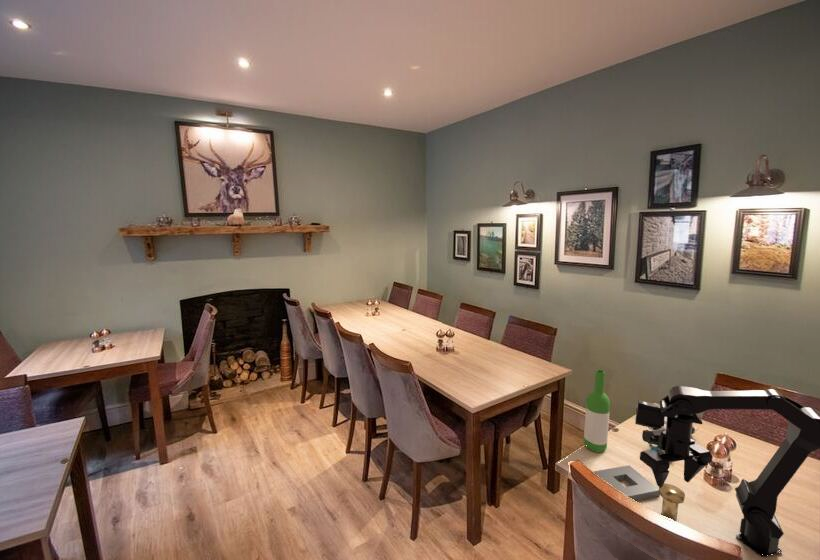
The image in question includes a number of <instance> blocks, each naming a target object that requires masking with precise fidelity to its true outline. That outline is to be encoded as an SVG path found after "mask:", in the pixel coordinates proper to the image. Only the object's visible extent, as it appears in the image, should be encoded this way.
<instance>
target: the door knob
mask: <svg viewBox="0 0 820 560" xmlns="http://www.w3.org/2000/svg"><path fill="white" fill-rule="evenodd" d="M658 489H659V494H660V497H661V498H662V503H661V504H662V505H661V516H662V515H664V516H666V517H668V518H671V519H673V520H675V521H677V520H678V512H679V504H680V505H681V504H683V503H685V498H686V494H685V492H684V491H683V490H682V489H681V488H679V487H678V486H675V485H673V484H671V483H665V482H664V484H663V486H662V487H661V488H660V487H659V486H658ZM675 521H674V522H675Z"/></svg>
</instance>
